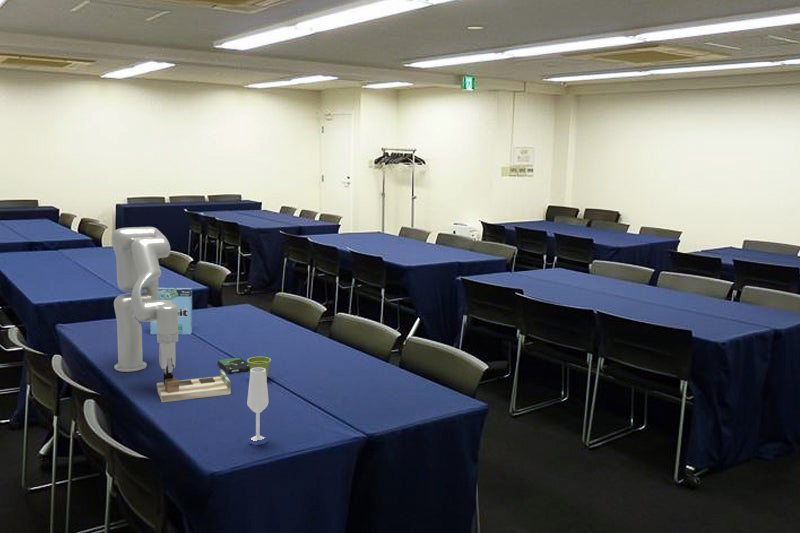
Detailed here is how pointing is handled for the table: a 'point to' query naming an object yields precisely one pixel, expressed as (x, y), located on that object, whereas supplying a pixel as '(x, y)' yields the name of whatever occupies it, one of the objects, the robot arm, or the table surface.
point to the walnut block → (171, 385)
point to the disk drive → (234, 365)
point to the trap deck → (197, 388)
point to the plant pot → (259, 363)
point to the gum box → (184, 305)
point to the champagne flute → (257, 396)
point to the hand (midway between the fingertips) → (168, 384)
